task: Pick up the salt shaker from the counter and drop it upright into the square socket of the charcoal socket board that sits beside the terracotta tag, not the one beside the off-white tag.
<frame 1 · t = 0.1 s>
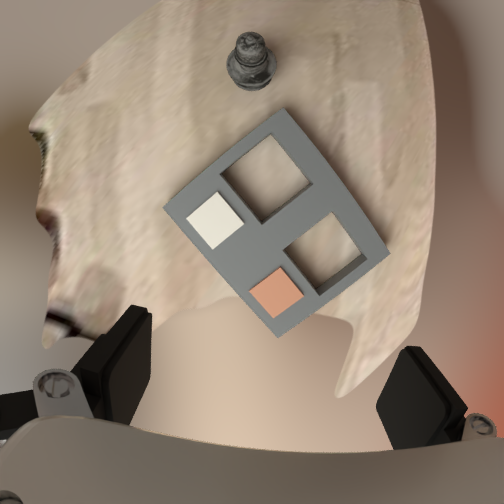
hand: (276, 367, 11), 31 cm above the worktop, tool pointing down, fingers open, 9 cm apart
socket board: (280, 226, 41), on the worktop
salt shaker: (251, 72, 36), on the worktop
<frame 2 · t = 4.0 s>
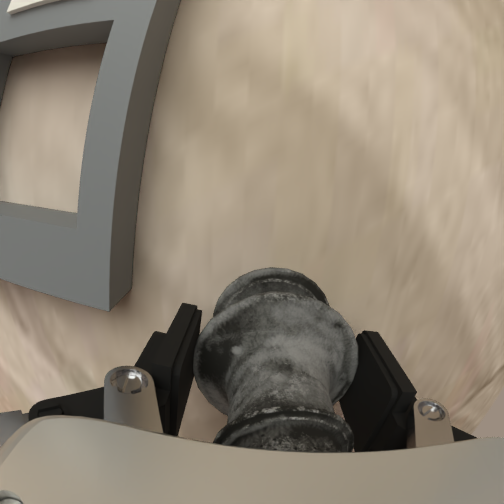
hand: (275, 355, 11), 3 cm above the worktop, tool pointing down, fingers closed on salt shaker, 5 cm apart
salt shaker: (272, 321, 14), on the worktop, touching gripper
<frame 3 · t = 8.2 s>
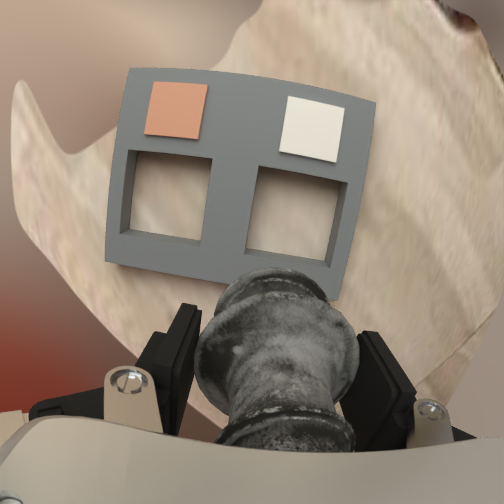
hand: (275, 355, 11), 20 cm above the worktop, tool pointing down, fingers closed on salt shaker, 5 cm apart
socket board: (234, 178, 29), on the worktop
salt shaker: (273, 321, 14), point 17 cm above the worktop, touching gripper
when the fingers open (4 cm above the worktop, at t = 12.5 s): salt shaker drops 1 cm, resting in socket board.
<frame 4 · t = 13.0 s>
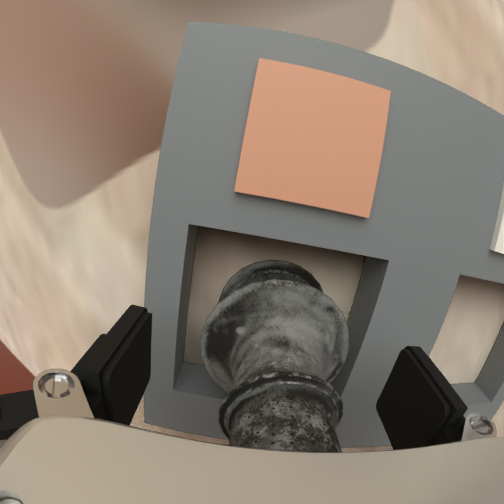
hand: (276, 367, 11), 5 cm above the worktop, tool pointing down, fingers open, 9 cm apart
socket board: (395, 280, 15), on the worktop
salt shaker: (272, 310, 15), resting in socket board
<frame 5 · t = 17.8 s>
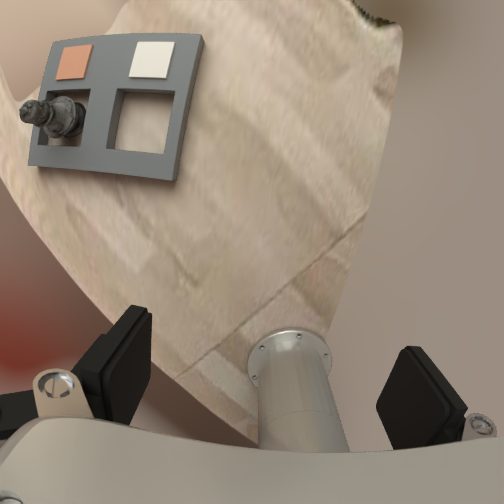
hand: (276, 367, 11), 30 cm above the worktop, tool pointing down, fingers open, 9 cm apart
socket board: (109, 102, 36), on the worktop
salt shaker: (72, 119, 36), resting in socket board
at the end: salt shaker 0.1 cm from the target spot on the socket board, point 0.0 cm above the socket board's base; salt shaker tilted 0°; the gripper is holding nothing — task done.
